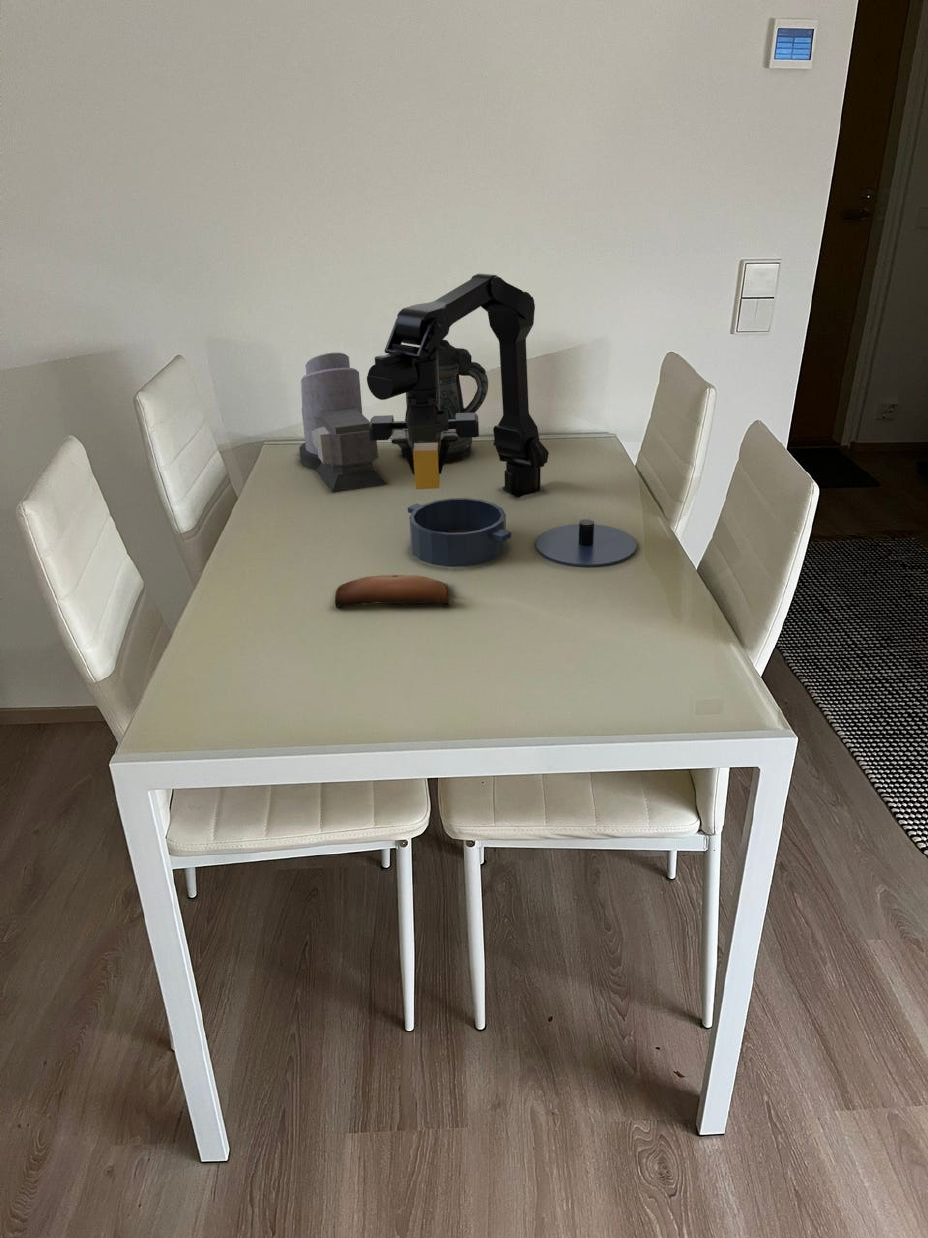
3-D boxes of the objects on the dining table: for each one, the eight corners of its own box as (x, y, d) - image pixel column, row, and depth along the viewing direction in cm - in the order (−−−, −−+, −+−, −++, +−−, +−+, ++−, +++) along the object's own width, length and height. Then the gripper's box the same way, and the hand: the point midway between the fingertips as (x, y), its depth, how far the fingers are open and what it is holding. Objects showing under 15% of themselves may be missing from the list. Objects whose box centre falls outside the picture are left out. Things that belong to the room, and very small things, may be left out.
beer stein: (394, 445, 224) (387, 335, 212) (475, 437, 227) (472, 329, 215) (407, 468, 209) (400, 352, 197) (493, 459, 213) (492, 344, 201)
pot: (443, 520, 183) (442, 488, 180) (536, 549, 170) (536, 515, 167) (381, 549, 172) (379, 515, 169) (475, 582, 159) (474, 546, 156)
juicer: (293, 451, 222) (280, 343, 210) (360, 442, 227) (351, 336, 215) (321, 493, 197) (309, 374, 185) (396, 482, 202) (389, 365, 190)
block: (439, 480, 172) (437, 442, 169) (439, 488, 169) (437, 450, 165) (416, 480, 172) (414, 443, 169) (415, 489, 169) (413, 450, 165)
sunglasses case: (450, 581, 158) (448, 558, 152) (450, 618, 155) (448, 596, 149) (341, 584, 158) (335, 561, 153) (338, 621, 155) (332, 599, 149)
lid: (573, 521, 180) (574, 496, 178) (655, 544, 170) (657, 518, 168) (515, 552, 169) (515, 526, 166) (599, 579, 158) (600, 551, 156)
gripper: (362, 400, 155) (370, 491, 163) (478, 397, 155) (480, 488, 162) (368, 382, 165) (375, 469, 172) (477, 379, 165) (479, 466, 172)
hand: (426, 473), depth 170 cm, fingers closed on block, 4 cm apart
